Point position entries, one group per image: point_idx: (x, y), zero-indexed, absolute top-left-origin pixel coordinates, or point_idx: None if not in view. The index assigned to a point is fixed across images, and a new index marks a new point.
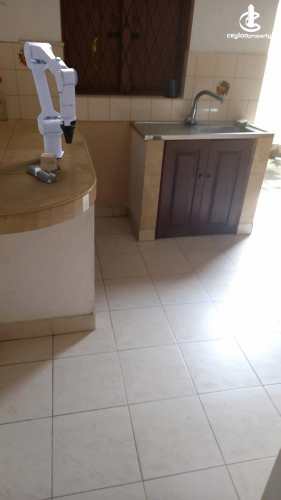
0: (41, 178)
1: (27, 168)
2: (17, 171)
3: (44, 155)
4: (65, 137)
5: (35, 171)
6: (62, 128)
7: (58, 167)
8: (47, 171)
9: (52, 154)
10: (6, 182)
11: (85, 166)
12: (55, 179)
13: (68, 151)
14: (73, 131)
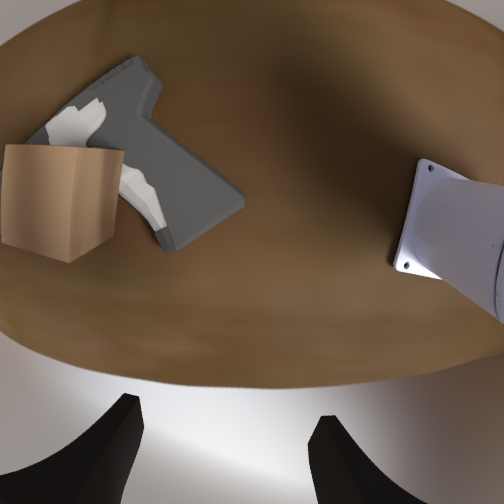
0: None
1: (140, 56)
2: (153, 17)
3: (23, 171)
4: (94, 432)
5: (55, 115)
6: (11, 481)
7: (159, 240)
8: None
9: (45, 233)
10: (31, 29)
11: (217, 375)
12: None
13: None
14: (318, 502)
